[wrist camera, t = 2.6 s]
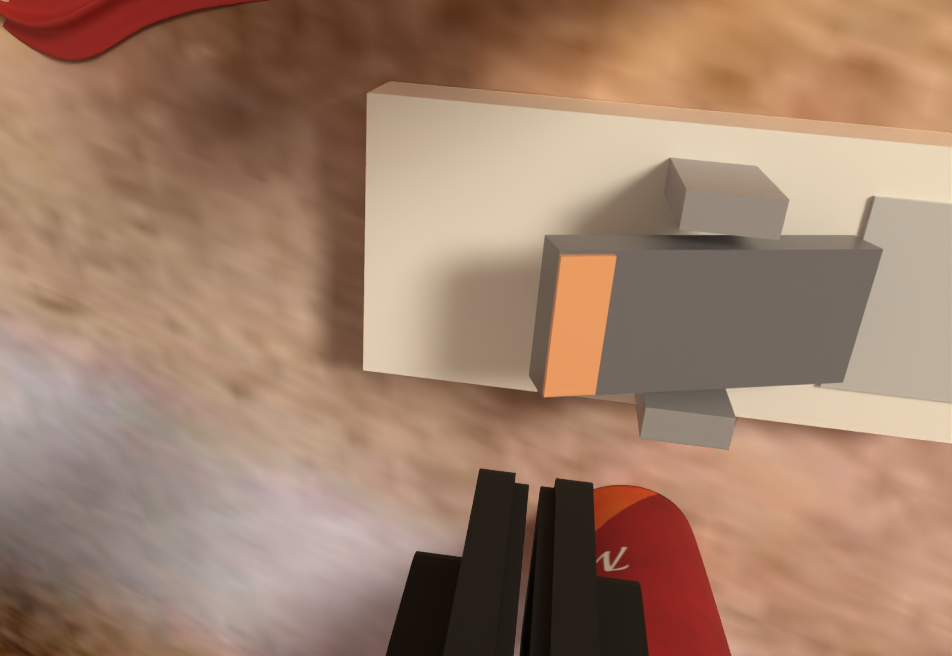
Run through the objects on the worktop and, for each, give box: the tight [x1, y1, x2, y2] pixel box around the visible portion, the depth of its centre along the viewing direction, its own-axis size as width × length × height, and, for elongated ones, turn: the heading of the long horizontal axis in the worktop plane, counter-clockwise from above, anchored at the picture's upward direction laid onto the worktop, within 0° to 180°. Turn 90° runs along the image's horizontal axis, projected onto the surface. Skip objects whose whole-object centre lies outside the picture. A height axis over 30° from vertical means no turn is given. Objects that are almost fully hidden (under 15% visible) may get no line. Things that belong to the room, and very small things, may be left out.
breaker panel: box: [363, 81, 952, 450], centre depth 23 cm, size 20×9×7 cm, turn 86°
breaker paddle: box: [529, 235, 883, 398], centre depth 21 cm, size 9×4×1 cm, turn 86°
